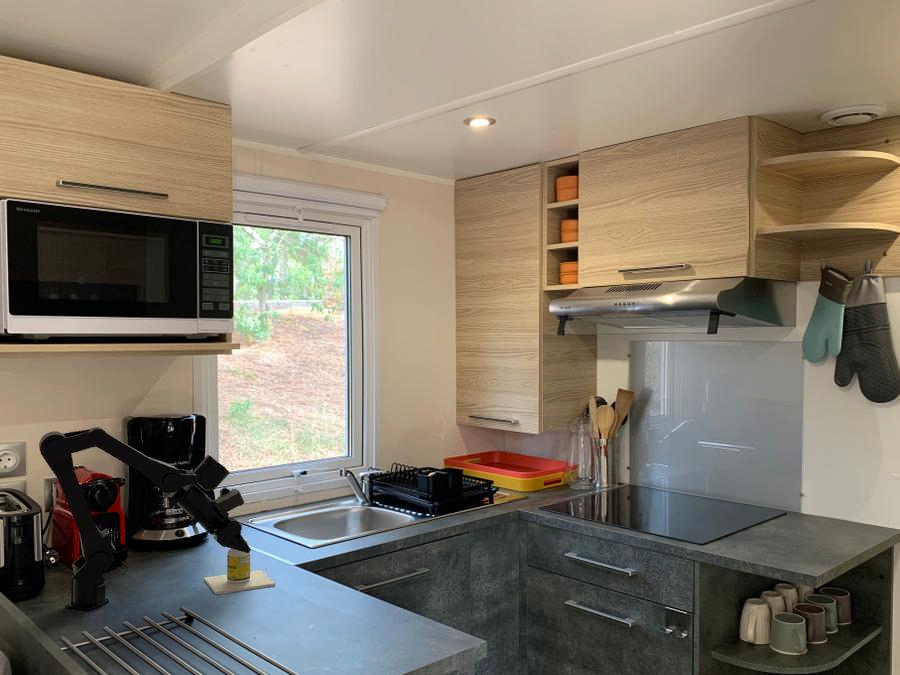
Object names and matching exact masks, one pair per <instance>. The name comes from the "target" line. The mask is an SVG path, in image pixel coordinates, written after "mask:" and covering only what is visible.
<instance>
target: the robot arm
mask: <svg viewBox="0 0 900 675" xmlns="http://www.w3.org/2000/svg"><path fill="white" fill-rule="evenodd" d="M38 447H39V452H40V455H41V456H42V458H43V460H44V461H45V462H46V464H47V465H48V467H49V468H50V470H51V471H52V472H53V474H54V476H55V477H56V478H57V481H58V483H59V485H60V488H61V491H62V493H63V496H64V498H65V501H66V504H67V506H68V508H69V511H70V513H71V515H72V518H73V520H74V523H75V525H76V528H77V530H78V534H79V541H80V547H81V552H82V554H81V555H80V556H79V557H78V558H77V559H76V560H74V562H73V563H72V569H73V573H74V575H73V576H71V579H70V581H71V586H70V587H71V590H70V594H71V595H70V602H68V603H65V605H64V606H65V608H69V609H75V610H80V611H81V610H82V611H90V610H94V609H95V608H98V607H100V606H103V605H105V604H107V603H109V602H110V599H109V598H106V586H107V585H106V584H107V583H105V578H106V576H105V573H106V570H108V569H110V567H112V564H113V563H114V561H115V554H114V552H116V551H117V550H116V548H115V545H114V544H113V542H112V541H111V536H110V533H109V531H108V529H107V528H104V529H103V530H100V529H99V528H98V526H97V524H96V522H95V519H94V517H93V514H92V512H91V509H90V506H89V504H88V502H87V500H86V498H85V494H84V492H83V489H82V487H81V485H80V482H79V480H78V476H77V474H76V472H75V466H74V461H73V455H72V454H75V453H78V452H82V451H85V450H88V449H93V448H97V449H99V450H101V451H103V452H105V453H106V454H108V455H110V456H112V457H113V458H115V459H117V460H119V461H120V462H122V463H123V464H125V465H127V466H129V467H131V468H133V469H134V470H136V471H137V472H139V473H141V474H142V475H143V476H144V477H146V478H147V480H149V481H150V482H151V483H152V484H153V485H154V486H156V487H157V488H158V489H159V490H160V491H162V492H163V493H166V494H169V495H165V498H166V507H167V508H168V509H170V510H171V509H173V508H174V507H175V506H176V505H177V506H179V507H180V508H181V509H182V511H183V510H184V511H185V512H186V513H187V514H188V515H189V516H190V517H191V518H192V519H193V520H195V521H196V523H198V524H199V525H200V527H201V528H202V529H204V531H206V533H207V532H208V534H210V535H212V536H213V540H214V541H215V542H217V543H218V544H219V545H220V546H221V547H223V548H227V549H235V550H238V551H242V552H245V553H249V552H250V553H251V549H252V548H251V547H250V546H249V545H248V542H247V543H246V541H245V540H244V536H243V535H242V529H243V525H242V524H241V523H240V522H239V521H238V520H237V519H235V518H234V517H229V516H230V513H229V512H230V511H232V510H234V509H236V508H237V507H241V506H243V505H244V504H245V500H244V499H243V497H242V494H241V491H240V490H239V489H237V488H232V489H231V490H230V489H229V488H227V487H223V488H221V489H220V490H219V495H218V497H216V498H215V499H213V498H212V497H209V495H207V494H206V493H205V492H203V491H202V490H201V489H200V488H199V487H198V486H197V485H199V486H200V487H201V488H202V489H203V490H205V491H206V492H208V491H210V492H211V490H212V491H215V489H217V487H218V486H219V485H221V483H222V482H223V481H224V480H225V479H226V478H227V477H228V476H229V475H230V474H231V472H230V470H228V469H227V468H226V467H225V466H224V465H223V464H222V463H220V462H219V461H217V460H216V459H215V458H214V457H212V456H211V455H210V454H207V455H206V456H205V457H204V458H203V460H202V461H201V462H200V463H199V464H198V465H197V466H196V467H195V468H194V469H193V470H188V469H178V468H177V467H176V466H174V465H173V464H170V463H167V462H164V461H162V460H158V459H155V458H152V457H149V456H147V455H146V454H144V453H142V452H141V451H139V450H137V449H135V448H133V447H132V446H130V445H128V444H127V443H125V442H123V441H122V440H120V439H118V438H117V437H115V436H113V435H112V434H110V433H108V432H107V431H105V429H103V428H102V427H99V426H94V427H92V428H88V429H82V430H76V431H70V432H64V433H62V432H61V431H49V432H47V433H45V434H44V435H42V437H41V438H40V440H39V442H38ZM196 484H197V485H196ZM171 493H172V494H171ZM195 521H194V522H195Z"/></svg>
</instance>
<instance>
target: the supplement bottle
mask: <svg viewBox="0 0 900 675" xmlns="http://www.w3.org/2000/svg"><path fill="white" fill-rule="evenodd" d="M243 538H244V537H243ZM244 540H245V541H246V543H247V544H248V539H247V538H244ZM226 554H227V556H226V557H227V558H226V559H227V561H226V564H227V566H226V572H227V573H226V575H227V581H228V582H230V583H243V582H247V581H249V580H250V571H251V551H250V552H249V553H245V552H242V551H238V550H235V549H231V548H228V550H227V553H226Z"/></svg>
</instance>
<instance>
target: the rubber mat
mask: <svg viewBox="0 0 900 675" xmlns="http://www.w3.org/2000/svg"><path fill="white" fill-rule="evenodd" d="M203 581H204V582H205V583H206V584H207V586H208V587H209V588H210V590H211V591H212V592H213V593H214V595H222V594H229V593H236V592H243V591H244V592H245V591H251V590H257V589H261V588H268V587H275V586H276V583H275V581H273V579H272V578H270V576H268V575H267V574H266V573H265V572H264V571H262V569H258V570H257V569H256V570H250V580H249V581H247V582H243V583H230V582H228V581H227V574H221V575H214V576H208V577H207V576H206V577H203Z"/></svg>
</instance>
